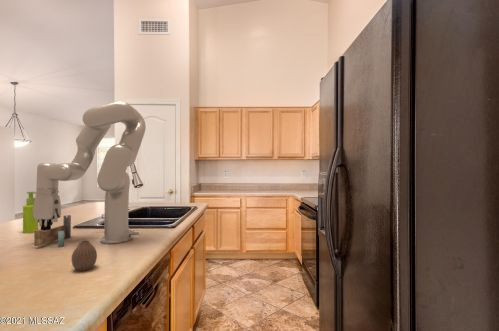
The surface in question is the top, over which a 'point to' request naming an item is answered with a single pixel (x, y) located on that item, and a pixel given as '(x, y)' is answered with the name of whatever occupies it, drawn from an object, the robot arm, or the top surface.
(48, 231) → the gate
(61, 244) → the post
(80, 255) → the vase
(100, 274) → the top surface
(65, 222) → the hinge post
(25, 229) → the soap dispenser
